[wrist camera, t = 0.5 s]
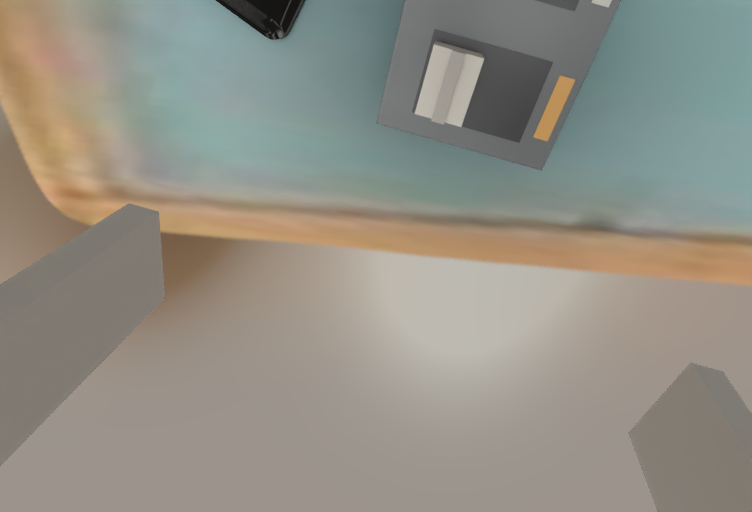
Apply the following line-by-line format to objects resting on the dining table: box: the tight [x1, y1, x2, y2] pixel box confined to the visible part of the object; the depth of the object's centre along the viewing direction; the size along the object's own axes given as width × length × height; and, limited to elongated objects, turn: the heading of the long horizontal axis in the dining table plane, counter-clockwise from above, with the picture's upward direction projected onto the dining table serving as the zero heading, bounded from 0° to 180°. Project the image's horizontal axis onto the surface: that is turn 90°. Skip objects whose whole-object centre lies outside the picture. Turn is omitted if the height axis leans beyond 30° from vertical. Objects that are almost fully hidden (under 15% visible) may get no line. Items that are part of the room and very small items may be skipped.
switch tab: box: [415, 41, 484, 127], centre depth 27 cm, size 4×3×3 cm
